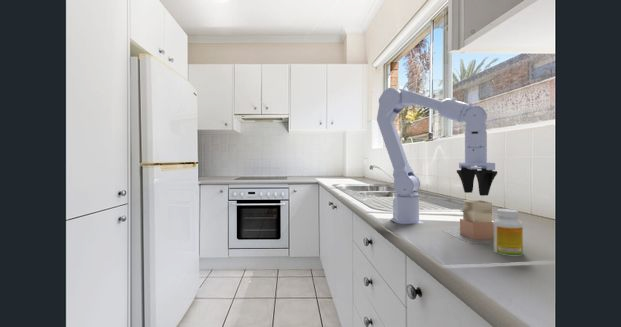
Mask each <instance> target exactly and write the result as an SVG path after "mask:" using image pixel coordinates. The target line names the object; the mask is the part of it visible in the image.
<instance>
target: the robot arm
mask: <svg viewBox="0 0 621 327" xmlns="http://www.w3.org/2000/svg"><path fill="white" fill-rule="evenodd" d="M414 105H416V106H419V107H424V108H427V109H430V110H434V111H437V113H438V114H439V116H440V117H441V118H445V119H449V120H452V121H455V122H457V123H465V132H464V162H458V169H456V173H457V175H458V177H459V180H460V181H461V185H462V188H463V191H464V193H467V194H468V193H473V190H474V181H475V178H476V179H477V180H476V181H477V183H478V184H477V186H478V193H479V196H481V197H482V196H483V197H484V196H489V194H490V190H491V186H492V183H493V181H494V179H495V177H496V176H497V175H498V171H496V163H495V162H488V154H487V152H488V146H487V145H488V136H487V135H488V132H487V123H486V121H487V119H488V114H487V111H486V110H485V109H484V108H483V107H481V106H479V105H474V104H473V103H472V102H469V103H466V102H463V101H460V100H459V101H458V99H457V98H456V97H451V98H448V97H447V98H445V99H443V100H439V99H436V98H433V97H430V96H428V95H425V94H421V93H418V92H415V91H411V90H407V89H401V88H399V90H398V88H395V87H388V88H386V89H384V90H383V92H382V93H381V95H380V97H379V98H378V109H377V115H376V122H377V125H378V127H379V130H380V133H381V137H382V139H383V142H384V145H385V148H386V151H387V154H388V156H389V160H390V162H391V165H392V168H393V171H392V172H393V173H392V177H393V180H394V181H393V189H394V190H395V192H396V193H395V196H394V198H393V200H392V217H391V218H390V221H392V222H394V223H395V224H396V223H398V224H401V225H406V224H407V225H408V224H409V225H410V224H411V225H412V224H424V223H425V222H423V221H421V220H420V193H419V192H418V191H419V190H420V186H421V180H420V179H419V177H417V175H415V173H414V170H413V169H412V167H411V166H410V164H409V161H408V159H407V156H406V155H407V154H406V153H405V150H404V147H403V144H402V141H401V139H400V136H399V133H398V130H397V127H396V124H395V121H396V120H395V119H396V118H397V117H398V114H399V113H401V112H402V111H403V110H404V109H405V108H406V107H408V108H409V107H411V106H414ZM475 166H476V167H475Z"/></svg>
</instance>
